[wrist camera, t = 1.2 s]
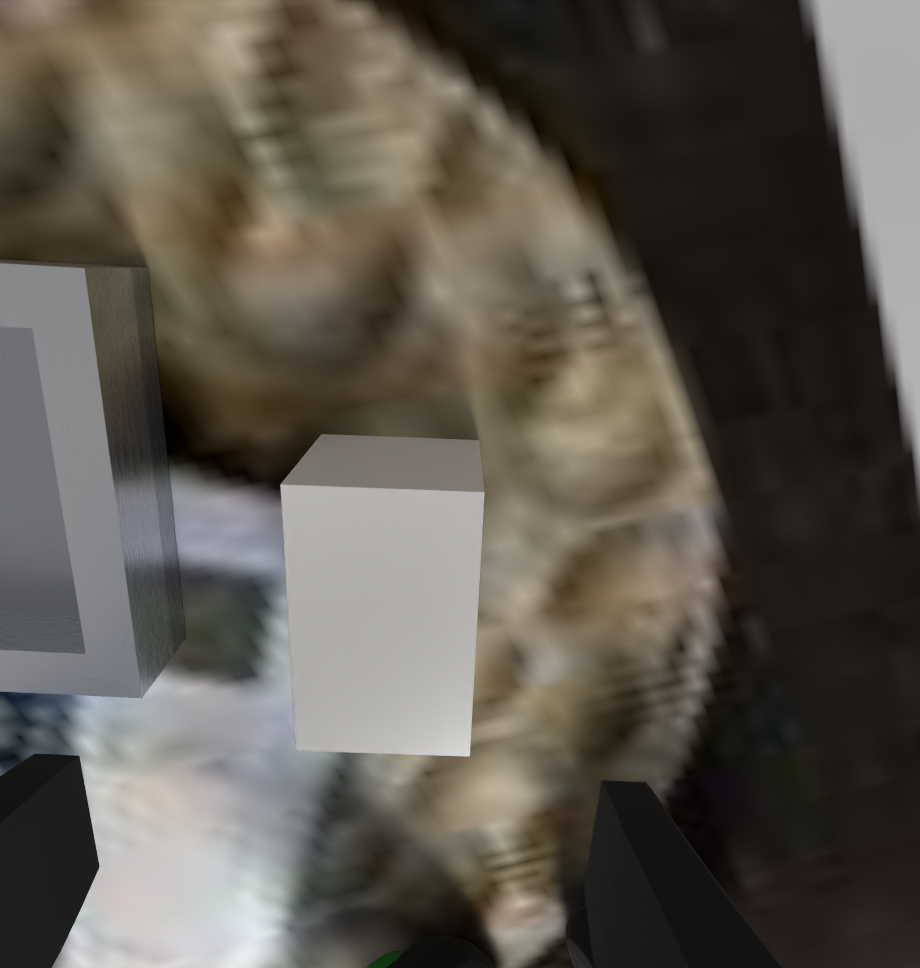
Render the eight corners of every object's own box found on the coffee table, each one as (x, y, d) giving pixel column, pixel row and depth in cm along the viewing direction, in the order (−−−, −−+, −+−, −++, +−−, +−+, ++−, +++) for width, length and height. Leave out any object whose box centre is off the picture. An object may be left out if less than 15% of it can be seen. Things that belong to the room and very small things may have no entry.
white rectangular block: (467, 654, 18) (469, 756, 14) (330, 649, 18) (296, 750, 14) (478, 438, 16) (484, 492, 12) (322, 432, 16) (280, 484, 12)
